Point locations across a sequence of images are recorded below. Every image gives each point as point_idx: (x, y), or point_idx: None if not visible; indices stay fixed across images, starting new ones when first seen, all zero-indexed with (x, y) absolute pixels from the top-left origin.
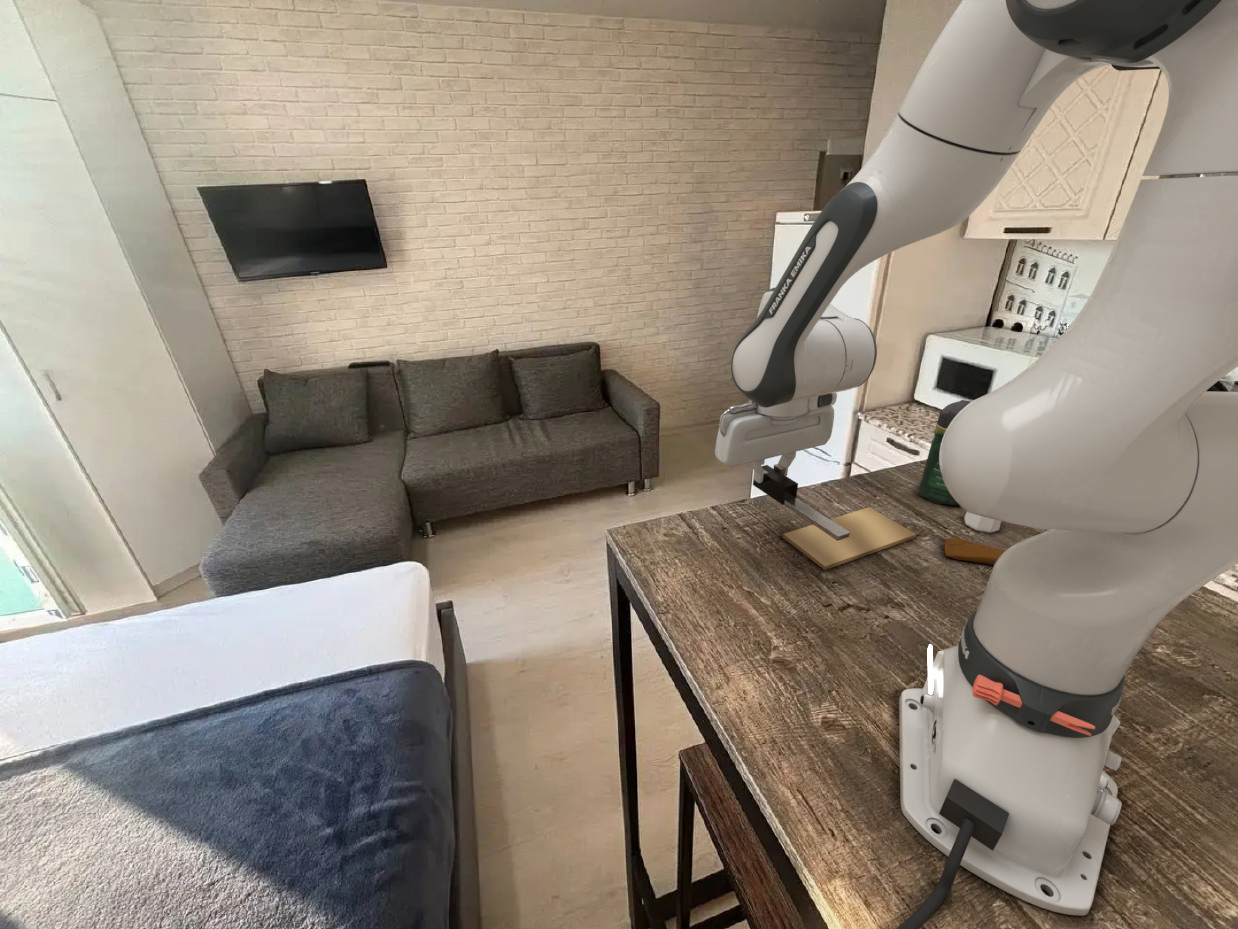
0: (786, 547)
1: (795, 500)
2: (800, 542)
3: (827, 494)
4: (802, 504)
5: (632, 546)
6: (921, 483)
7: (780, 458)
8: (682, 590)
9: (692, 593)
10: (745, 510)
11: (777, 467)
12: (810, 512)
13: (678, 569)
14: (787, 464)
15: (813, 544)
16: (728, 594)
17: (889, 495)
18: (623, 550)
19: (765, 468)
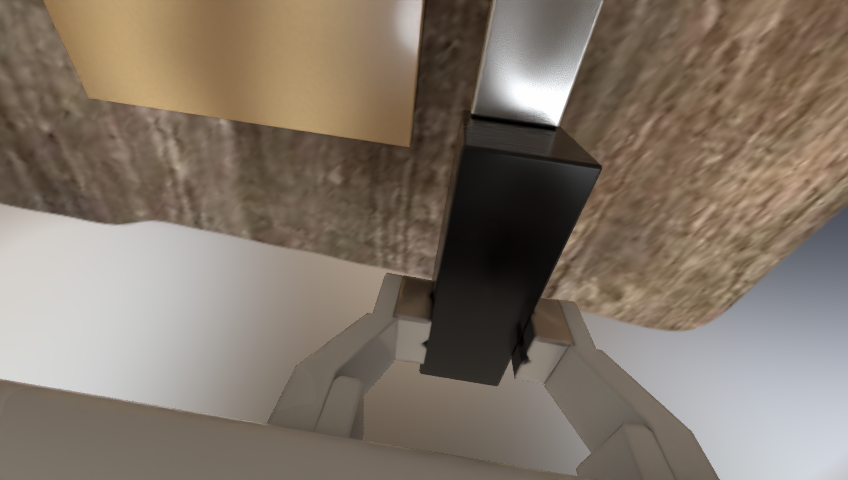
0: (437, 103)
1: (504, 87)
2: (399, 84)
3: (180, 210)
4: (520, 7)
5: (705, 305)
6: None
7: (370, 388)
8: (827, 125)
9: (829, 98)
10: (404, 268)
11: (424, 341)
12: None
13: (732, 197)
14: (379, 333)
15: (371, 51)
16: (776, 25)
17: (3, 115)
18: (731, 305)
19: (460, 361)
